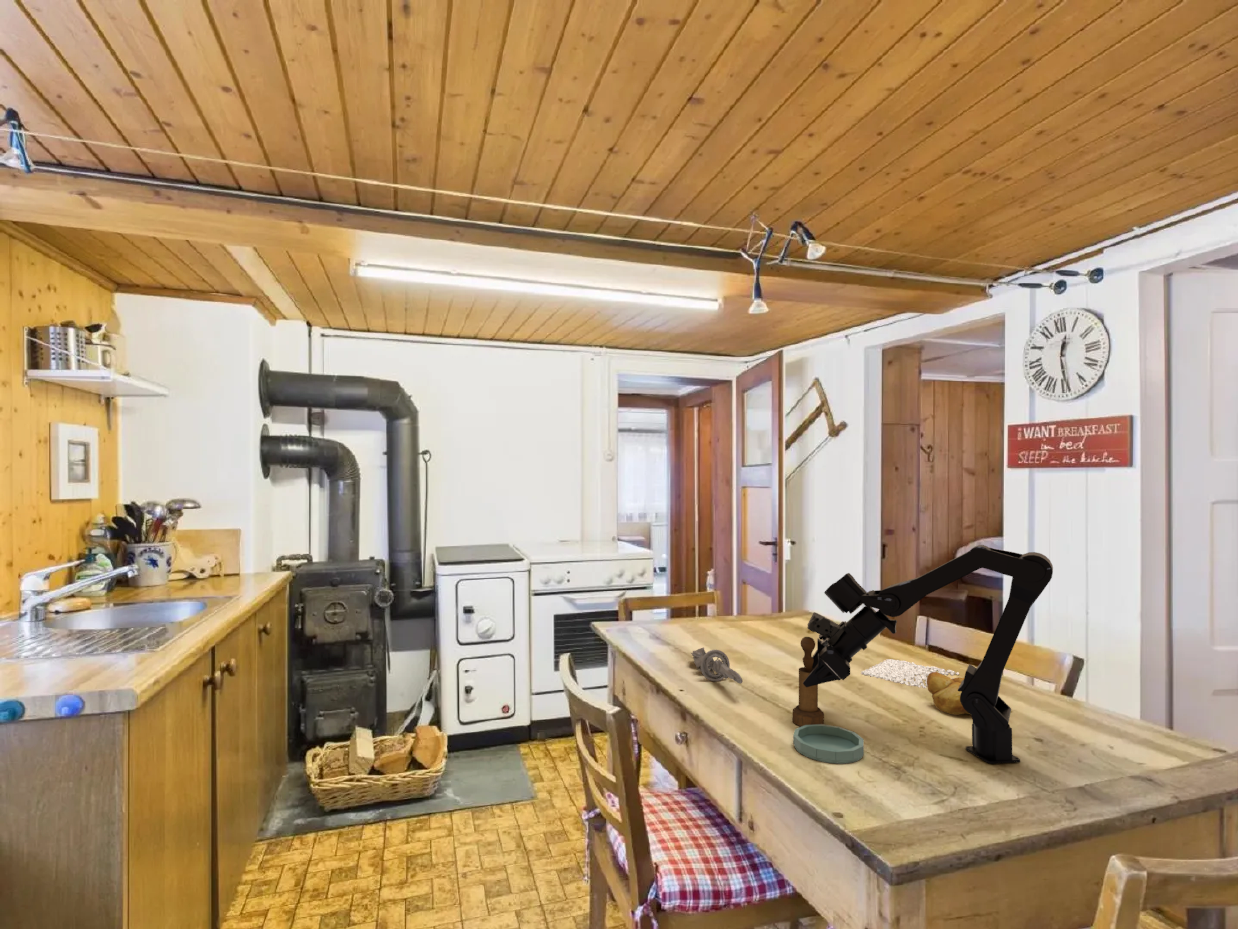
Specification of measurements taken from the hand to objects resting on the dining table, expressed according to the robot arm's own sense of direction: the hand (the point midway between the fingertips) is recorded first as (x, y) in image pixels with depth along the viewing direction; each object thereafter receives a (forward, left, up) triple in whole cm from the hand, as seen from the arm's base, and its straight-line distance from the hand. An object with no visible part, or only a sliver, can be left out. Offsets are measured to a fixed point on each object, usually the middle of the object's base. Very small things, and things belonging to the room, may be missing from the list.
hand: (804, 678), depth 132 cm
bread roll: (+2, -38, -9) cm, 39 cm away
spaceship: (+29, +11, -9) cm, 33 cm away
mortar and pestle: (0, -1, -9) cm, 9 cm away
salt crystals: (+28, -43, -10) cm, 52 cm away
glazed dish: (-13, +1, -9) cm, 16 cm away
